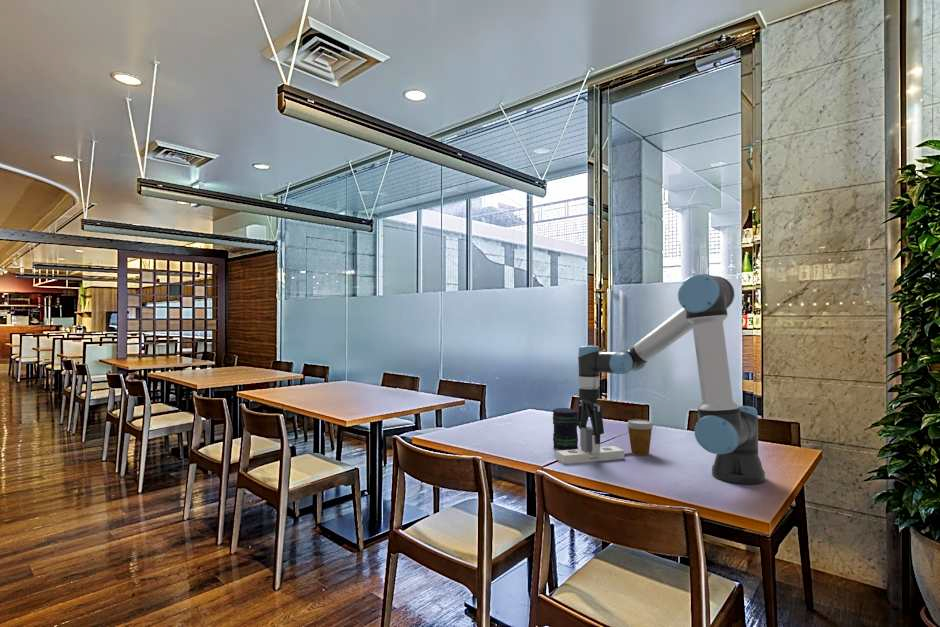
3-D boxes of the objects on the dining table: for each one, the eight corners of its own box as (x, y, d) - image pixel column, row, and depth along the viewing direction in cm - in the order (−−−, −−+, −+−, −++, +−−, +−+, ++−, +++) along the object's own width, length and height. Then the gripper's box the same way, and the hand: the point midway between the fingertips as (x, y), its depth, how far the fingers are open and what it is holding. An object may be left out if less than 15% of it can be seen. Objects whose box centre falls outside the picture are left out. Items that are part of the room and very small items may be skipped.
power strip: (638, 457, 190) (638, 448, 190) (564, 464, 182) (564, 455, 182) (627, 452, 197) (627, 444, 197) (555, 459, 189) (555, 450, 189)
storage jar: (559, 443, 212) (559, 407, 213) (582, 446, 207) (581, 409, 207) (548, 448, 204) (548, 410, 205) (571, 452, 199) (571, 413, 199)
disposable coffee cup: (650, 450, 200) (649, 419, 200) (656, 456, 190) (655, 424, 191) (625, 450, 201) (624, 419, 201) (629, 456, 191) (629, 423, 192)
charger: (598, 455, 187) (598, 427, 187) (586, 456, 186) (586, 428, 186) (593, 453, 191) (593, 425, 191) (581, 454, 190) (580, 426, 190)
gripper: (613, 391, 180) (614, 456, 179) (584, 384, 200) (585, 442, 200) (594, 391, 178) (595, 457, 177) (566, 384, 198) (567, 443, 198)
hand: (589, 449), depth 189 cm, fingers open, 9 cm apart
